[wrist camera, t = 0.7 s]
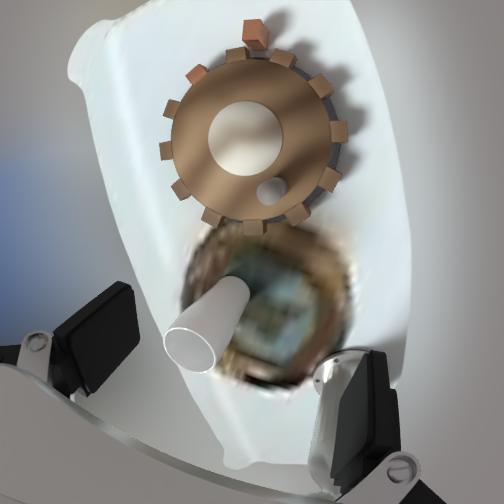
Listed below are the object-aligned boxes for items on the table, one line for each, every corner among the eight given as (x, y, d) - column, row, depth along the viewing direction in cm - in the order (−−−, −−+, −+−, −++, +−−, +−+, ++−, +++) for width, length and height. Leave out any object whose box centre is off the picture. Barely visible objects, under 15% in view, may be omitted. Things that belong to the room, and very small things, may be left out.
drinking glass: (233, 261, 41) (182, 315, 28) (265, 295, 42) (229, 361, 28) (205, 285, 44) (152, 341, 31) (234, 317, 45) (193, 381, 31)
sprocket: (384, 168, 30) (396, 173, 24) (230, 261, 40) (210, 283, 34) (269, 20, 27) (254, -4, 20) (141, 128, 37) (108, 128, 30)
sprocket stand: (374, 165, 31) (379, 167, 28) (235, 250, 41) (224, 261, 37) (264, 23, 28) (255, 12, 25) (147, 121, 37) (130, 120, 34)
